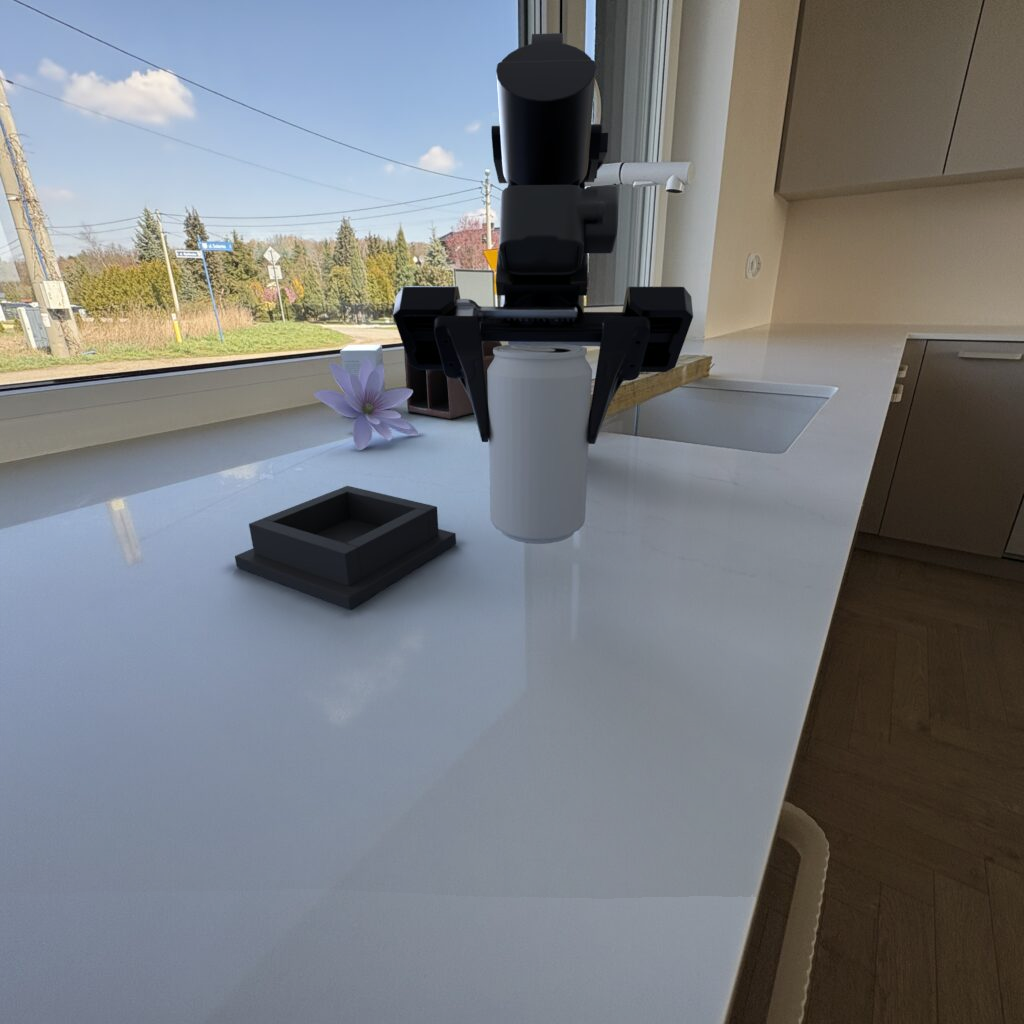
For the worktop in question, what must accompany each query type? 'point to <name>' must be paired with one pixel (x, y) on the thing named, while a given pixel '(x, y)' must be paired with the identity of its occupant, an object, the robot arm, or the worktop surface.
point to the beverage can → (538, 440)
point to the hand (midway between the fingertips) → (537, 439)
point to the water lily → (367, 403)
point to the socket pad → (345, 544)
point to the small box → (361, 359)
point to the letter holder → (441, 389)
